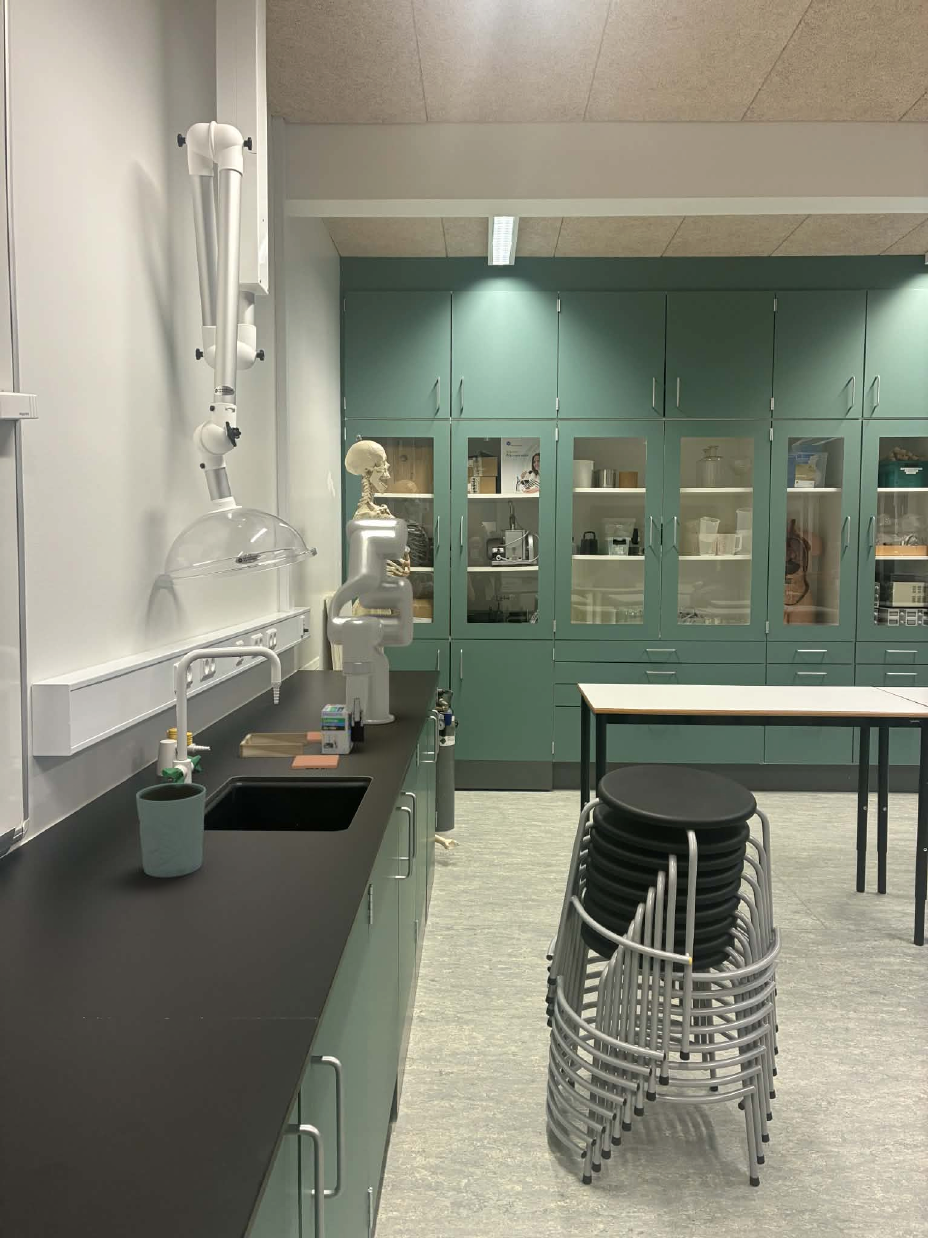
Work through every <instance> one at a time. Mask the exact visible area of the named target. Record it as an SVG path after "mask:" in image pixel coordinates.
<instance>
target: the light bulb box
mask: <svg viewBox="0 0 928 1238" xmlns="http://www.w3.org/2000/svg"><path fill="white" fill-rule="evenodd" d="M351 725H352V712H351V714H348V711H346V704H342V703H341V704H339V703H338V704H335V703H329V704H326V706H325V707H324V708H323V709H322V710H321V732H322V742H321V755H349V753H350V751H351V750H352V748H353V746H354V742H351Z"/></svg>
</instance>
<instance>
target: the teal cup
mask: <svg viewBox="0 0 928 1238" xmlns="http://www.w3.org/2000/svg"><path fill="white" fill-rule="evenodd" d="M206 793H207V790H206V787H205V786H203V785H201V784H198V783H193V782H167V783H162V784H155V785H151V786H149V787H146V788H143V789H141V790H140V791H138V792H137V793H136V794H135V800H136V807H137V812H138V820H139V836H140V844H141V856H142V868H143V871H144V873H145V874H146V875H148V876H151V877H155V878H175V877H180V876H185V875H187V874H191V873H193V872H195V871H198V870H199V869H200V868H201V867H202V864H203V846H202V845H203V843H204V841H203V840H204V829H205V823H204V820H205V806H206V796H207V795H206Z"/></svg>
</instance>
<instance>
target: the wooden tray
mask: <svg viewBox="0 0 928 1238" xmlns="http://www.w3.org/2000/svg"><path fill="white" fill-rule="evenodd" d="M307 733H308V732H287V733H286V732H282V733H281V732H274V733H273V732H272V733H269V732H267V733H264V732H263V733H262V732H261V733H248V734H247V735H246V736H245V738H243V739H242V741H241V743H240V744H239V745H238V746H239V748H238V749H239V751H238V752H239V757H238V758H242V759H243V758H296V756H300V755H303V746H308V744H309V743H307Z"/></svg>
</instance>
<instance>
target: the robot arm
mask: <svg viewBox="0 0 928 1238" xmlns="http://www.w3.org/2000/svg"><path fill="white" fill-rule="evenodd" d="M345 532H346V537H347V540H348V543H349V545H350V546H349V555H348V556H349V557H348V558H349V559H348V572H347V573H348V574H347V580H346V581H345V583H343V584H342V585H340V587H339V588H338V589H337V590H336V592H335V593H334V595H333V596H332V598H331V600H330V603H329V606H328V612H327V613H328V614H327V622H326V623H327V624H326V625H327V626H326V636H327V638H328V642H330V643H331V644H332V645H334V646H341V658H342V659H341V661H342V664H341V665H342V667H341V668H342V670H341V671H342V673H341V674H342V676H344V677H346V680H345V705H346V711H348V714H351V712H352V725H351V742H353V743H364V742H365V725H383V724H389V723H392V722H394V721H395V716H394V715H392V714H390V664H389V663H390V662H389V658H388V657H387V655H386V654H385V653H384V651H383V650H382V649H381V648H382V647H383V648H385V647H407V646H409V645H411V644H412V641H413V638H414V593H413V585H412V583H411V581H410V580H409V579H408V578H406V577H401V576H388V572H387V571H388V564H387V563H388V562H387V561H388V560H391V561H394V560H395V561H397V560H400V559H402V558H403V557H404V553H405V550H406V547H407V543H408V535H409V530H408V526H407V522H406V521H405V520H404V519H402V518H398V517H357V518H352V519H349V520H348V521H347V523H346V524H345ZM357 598H358V600H357V601H358V604H359V606H360V607H361V608H363V609H366V610H394V611H396V613H395V614H394V613H388V614H387V613H364V614H361V615H355V616H354V615H353V616H352V615H350V616H349V615H341V611H342V609H343V608H344V606H345V605H347V604H348V603H349V602H350V601H352V600H354V599H357ZM340 615H341V616H340Z"/></svg>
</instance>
